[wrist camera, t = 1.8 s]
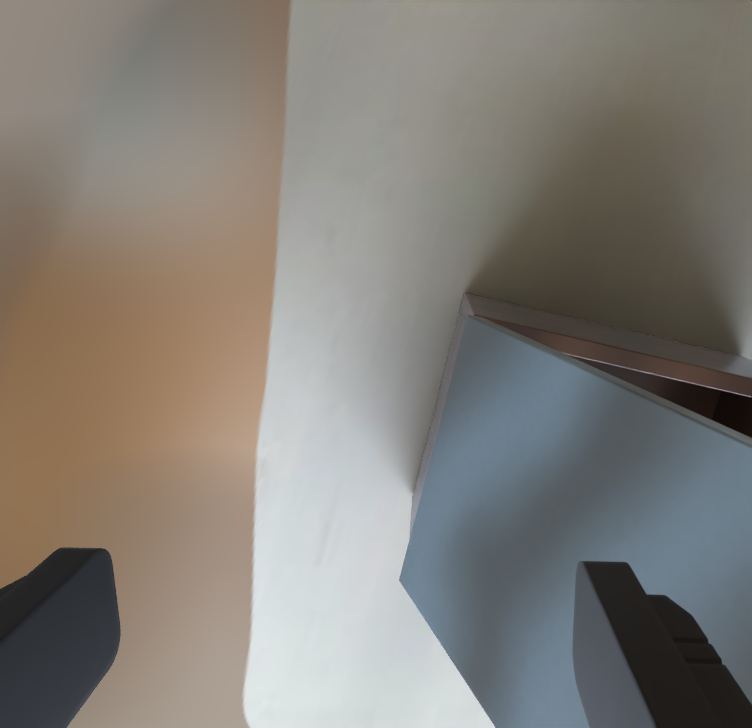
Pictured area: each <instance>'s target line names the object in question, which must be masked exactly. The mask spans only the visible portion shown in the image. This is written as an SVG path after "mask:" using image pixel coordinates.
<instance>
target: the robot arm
mask: <svg viewBox="0 0 752 728" xmlns="http://www.w3.org/2000/svg"><path fill="white" fill-rule="evenodd" d="M119 642H120V621H119V612H118V605H117V596H116V589H115V581H114V572H113V565H112V559H111V556H110V554H109V552H108V551H107V550H105V549H102V548H59V549H57V550H56V551H55V552H53V553H52V554H51V555H50V556H49V557H48V558H46V559H45V560H44V561H43V562H42V563H41V564H39V565H38V566H37V567H36V568H35V569H34V570H33V571H31V572H30V573H29V574H28V575H27V576H24V577H22V578H21V579H19V580H17V581H15V582H13V583H11V584H9V585H7V586H5V587H3V588H1V589H0V728H66V727H67V726H68V725H69V723H70V722H71V720H72V719H73V718H74V717H75V715H76V714H77V712H78V711H79V710H80V708H81V707H82V706H83V704H84V703H85V702H86V700H87V699H88V697H89V696H90V695H91V693H92V692H93V691H94V689H95V688H96V687H97V685H98V684H99V682H100V681H101V680H102V678H103V677H104V676H105V674H106V673H107V672H108V670H109V669H110V667H111V665H112V663H113V662H114V659H115V657H116V654H117V651H118V647H119ZM572 654H573V667H574V675H575V680H576V685H577V689H578V692H579V696H580V699H581V702H582V705H583V708H584V712H585V715H586V718H587V721H588V724H589V728H752V704H751V703H750V701H749V700H748V698H747V697H746V695H745V694H744V692H743V691H742V689H741V688H740V686H739V685H738V683H737V682H736V680H735V679H734V677H733V676H732V674H731V673H730V671H729V670H728V668H727V667H726V665H722V659H721V658H720V656H719V655H718V653H717V652H716V650H715V649H714V647H713V646H712V644H709V643H708V638H707V637H706V635H705V634H704V632H703V631H702V629H701V628H700V626H699V625H698V623H697V622H696V620H695V619H694V617H693V616H692V615H691V614H690V613H688V612H687V611H686V610H684V609H683V608H682V607H681V606H679V605H678V604H677V603H675V602H674V601H673V600H671V599H670V598H669V597H667V596H666V595H651V594H646V593H645V591H644V589H643V587H642V586H641V584H640V582H639V580H638V579H637V577H636V575H635V574H634V572H633V570H632V568H631V567H630V565H629V564H628V563H627V562H610V561H579V562H578V565H577V569H576V580H575V601H574V622H573V643H572Z"/></svg>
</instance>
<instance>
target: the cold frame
mask: <svg viewBox="0 0 752 728" xmlns="http://www.w3.org/2000/svg"><path fill="white" fill-rule="evenodd" d="M467 315H472V316H478V317H483V318H485V319H487V320H490V321H492V322H494V323H496V324H498V325H501V326H503V327H505V328H507V329H510V330H512V331H514V332H516V333H519V334H521V335H523V336H525V337H527V338H530V339H532V340H534V341H536V342H539V343H541V344H543V345H545V346H548V347H550V348H552V349H554V350H556V351H559V352H561V353H563V354H565V355H568V356H570V357H572V358H574V359H577V360H579V361H581V362H583V363H585V364H588V365H590V366H592V367H594V368H597V369H599V370H601V371H603V372H606V373H608V374H610V375H612V376H614V377H617V378H619V379H621V380H623V381H626V382H628V383H630V384H632V385H635V386H637V387H639V388H641V389H644V390H646V391H648V392H650V393H652V394H655V395H657V396H659V397H661V398H664V399H666V400H668V401H670V402H673V403H675V404H677V405H679V406H681V407H684V408H686V409H688V410H690V411H693V412H695V413H697V414H699V415H702V416H704V417H706V418H708V419H710V420H713V421H715V422H717V423H719V424H722V425H724V426H726V427H728V428H731V429H733V430H735V431H737V432H739V433H742V434H744V435H746V436H748V437H751V438H752V361H751V360H749V359H746V358H744V357H742V356H738V355H734V354H729V353H725V352H720V351H716V350H712V349H707V348H703V347H699V346H694V345H690V344H686V343H681V342H677V341H673V340H668V339H664V338H659V337H655V336H651V335H646V334H642V333H638V332H633V331H629V330H625V329H620V328H616V327H611V326H607V325H603V324H598V323H594V322H590V321H585V320H581V319H577V318H572V317H568V316H563V315H559V314H555V313H550V312H546V311H542V310H537V309H533V308H529V307H524V306H520V305H516V304H511V303H507V302H502V301H498V300H494V299H489V298H485V297H481V296H476V295H472V294H468V293H464V294H463V298H462V302H461V306H460V310H459V314H458V317H457V321H456V325H455V329H454V333H453V337H452V341H451V345H450V349H449V353H448V357H447V361H446V365H445V369H444V373H443V377H442V381H441V385H440V389H439V393H438V397H437V401H436V405H435V409H434V413H433V417H432V420H431V424H430V428H429V432H428V436H427V440H426V444H425V448H424V452H423V456H422V460H421V464H420V468H419V472H418V476H417V480H416V484H415V488H414V492H413V496H412V511H411V524H410V536H411V532H412V528H413V524H414V520H415V516H416V512H417V508H418V504H419V500H420V496H421V493H422V489H423V485H424V481H425V477H426V473H427V469H428V465H429V461H430V457H431V453H432V450H433V446H434V442H435V438H436V434H437V430H438V426H439V422H440V418H441V414H442V410H443V407H444V403H445V399H446V395H447V391H448V387H449V383H450V379H451V375H452V371H453V367H454V364H455V360H456V356H457V352H458V348H459V344H460V340H461V336H462V332H463V328H464V324H465V320H466V317H467ZM409 540H410V538H409Z"/></svg>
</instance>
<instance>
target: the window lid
mask: <svg viewBox="0 0 752 728" xmlns="http://www.w3.org/2000/svg"><path fill="white" fill-rule="evenodd" d="M579 561H610V562H627V563H628V564H629V565H630V567H631V568H632V570H633V572H634V574H635V575H636V577H637V579H638V580H639V582H640V584H641V586H642V587H643V589H644V591H645V593H646V594H651V595H666V596H667V597H669V598H670V599H671V600H673V601H674V602H675V603H677V604H678V605H679V606H681V607H682V608H683V609H684V610H686V611H687V612H688V613H690V614H691V615H692V616H693V617H694V619H695V620H696V622H697V623H698V625H699V626H700V628H701V629H702V631H703V632H704V634H705V635H706V637H707V638H708V643H709V644H712V646H713V647H714V649H715V650H716V652H717V653H718V655H719V656H720V658H721V659H722V665H726V667H727V668H728V670H729V671H730V673H731V674H732V676H733V677H734V679H735V680H736V682H737V683H738V685H739V686H740V688H741V689H742V691H743V692H744V694H745V695H746V697H747V698H748V700H749V701H750V703H751V704H752V438H751V437H748V436H746V435H744V434H742V433H739V432H737V431H735V430H733V429H731V428H728V427H726V426H724V425H722V424H719V423H717V422H715V421H713V420H710V419H708V418H706V417H704V416H702V415H699V414H697V413H695V412H693V411H690V410H688V409H686V408H684V407H681V406H679V405H677V404H675V403H673V402H670V401H668V400H666V399H664V398H661V397H659V396H657V395H655V394H652V393H650V392H648V391H646V390H644V389H641V388H639V387H637V386H635V385H632V384H630V383H628V382H626V381H623V380H621V379H619V378H617V377H614V376H612V375H610V374H608V373H606V372H603V371H601V370H599V369H597V368H594V367H592V366H590V365H588V364H585V363H583V362H581V361H579V360H577V359H574V358H572V357H570V356H568V355H565V354H563V353H561V352H559V351H556V350H554V349H552V348H550V347H548V346H545V345H543V344H541V343H539V342H536V341H534V340H532V339H530V338H527V337H525V336H523V335H521V334H519V333H516V332H514V331H512V330H510V329H507V328H505V327H503V326H501V325H498V324H496V323H494V322H492V321H490V320H487V319H485V318H483V317H478V316H472V315H467V317H466V320H465V324H464V328H463V332H462V336H461V340H460V344H459V348H458V352H457V356H456V360H455V364H454V367H453V371H452V375H451V379H450V383H449V387H448V391H447V395H446V399H445V403H444V407H443V410H442V414H441V418H440V422H439V426H438V430H437V434H436V438H435V442H434V446H433V450H432V453H431V457H430V461H429V465H428V469H427V473H426V477H425V481H424V485H423V489H422V493H421V496H420V500H419V504H418V508H417V512H416V516H415V520H414V524H413V528H412V532H411V536H410V540H409V543H408V547H407V551H406V555H405V559H404V563H403V567H402V571H401V575H400V579H399V581H400V582H401V584H402V585H403V587H404V589H405V590H406V592H407V593H408V595H409V596H410V598H411V599H412V601H413V602H414V604H415V605H416V607H417V608H418V610H419V611H420V613H421V614H422V616H423V618H424V619H425V621H426V622H427V624H428V625H429V627H430V628H431V630H432V631H433V633H434V634H435V636H436V637H437V639H438V640H439V642H440V643H441V645H442V647H443V648H444V650H445V651H446V653H447V654H448V656H449V657H450V659H451V660H452V662H453V663H454V665H455V666H456V668H457V669H458V671H459V672H460V674H461V676H462V677H463V679H464V680H465V682H466V683H467V685H468V686H469V688H470V689H471V691H472V692H473V694H474V695H475V697H476V698H477V700H478V701H479V703H480V705H481V706H482V708H483V709H484V711H485V712H486V714H487V715H488V717H489V718H490V720H491V721H492V723H493V724H494V726H495V727H496V728H589V724H588V721H587V718H586V715H585V712H584V708H583V705H582V702H581V699H580V696H579V692H578V689H577V685H576V680H575V675H574V667H573V654H572V643H573V622H574V601H575V580H576V569H577V565H578V562H579Z"/></svg>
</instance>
